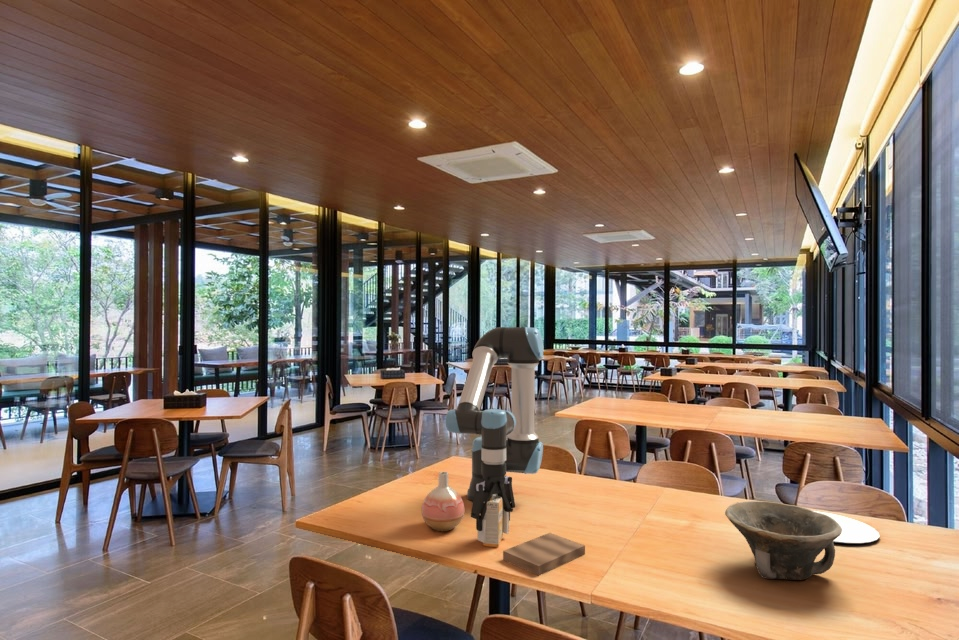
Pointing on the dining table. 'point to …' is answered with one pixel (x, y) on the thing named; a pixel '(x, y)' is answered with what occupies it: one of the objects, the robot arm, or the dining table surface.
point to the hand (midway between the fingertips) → (493, 536)
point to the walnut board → (543, 553)
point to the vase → (443, 506)
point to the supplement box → (494, 521)
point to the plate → (853, 530)
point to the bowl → (785, 538)
